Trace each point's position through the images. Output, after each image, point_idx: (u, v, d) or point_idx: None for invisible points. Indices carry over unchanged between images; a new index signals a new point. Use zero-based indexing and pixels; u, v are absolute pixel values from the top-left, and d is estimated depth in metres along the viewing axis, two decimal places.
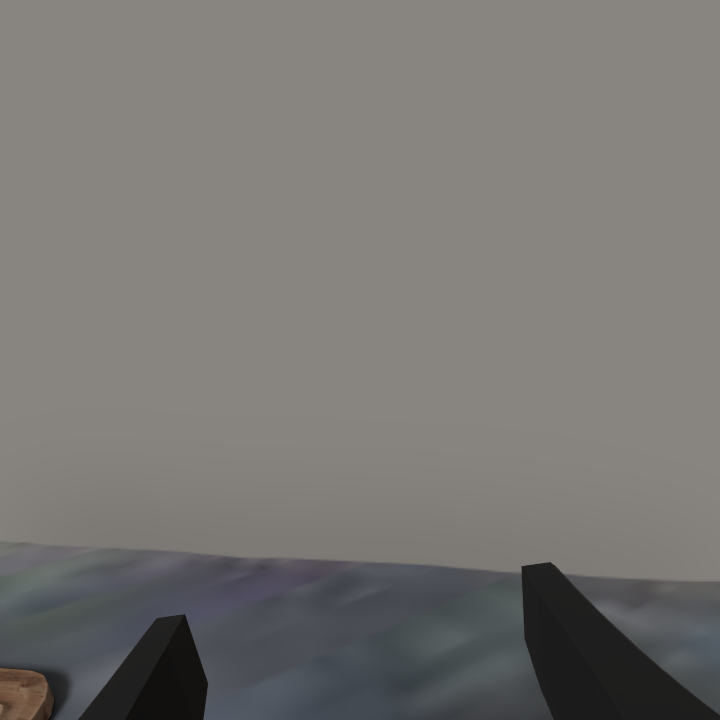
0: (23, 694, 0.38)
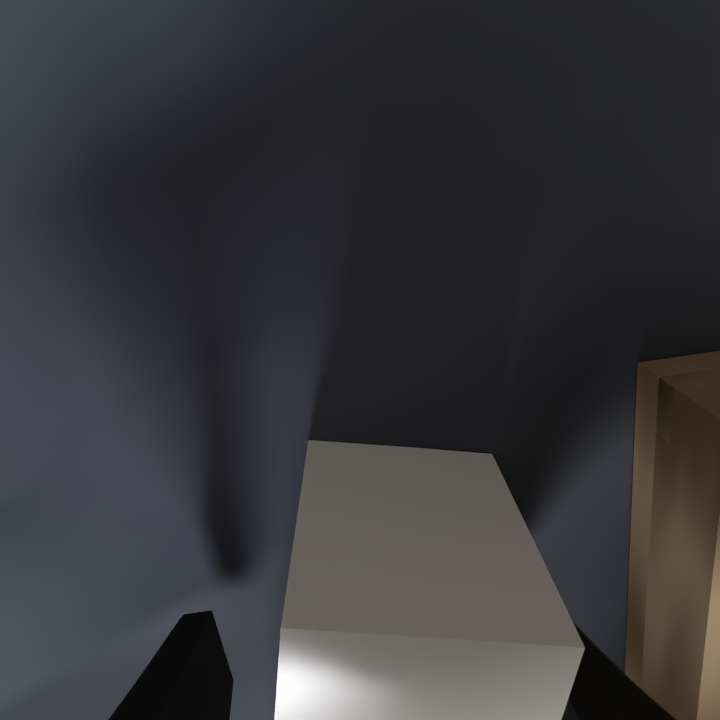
0: None
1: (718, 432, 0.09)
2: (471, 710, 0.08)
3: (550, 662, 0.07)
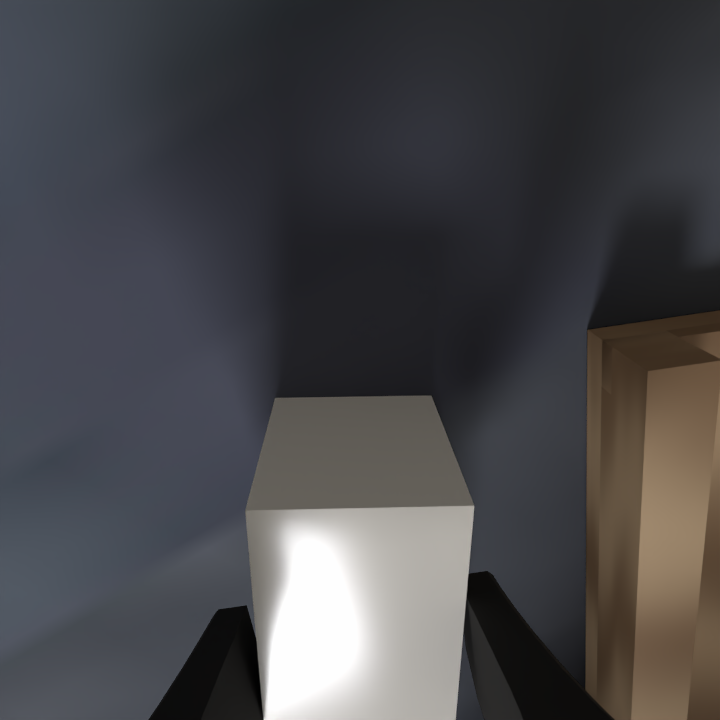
0: None
1: (641, 378, 0.11)
2: (398, 565, 0.10)
3: (451, 520, 0.10)
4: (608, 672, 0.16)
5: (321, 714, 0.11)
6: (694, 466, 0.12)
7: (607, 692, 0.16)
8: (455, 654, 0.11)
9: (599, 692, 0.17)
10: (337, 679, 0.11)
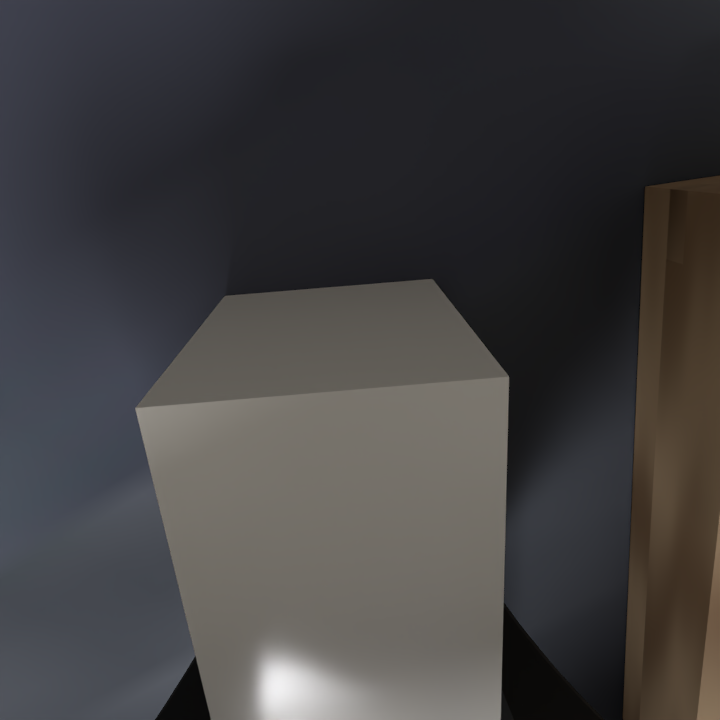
0: None
1: None
2: (393, 487, 0.06)
3: (473, 405, 0.06)
4: (662, 652, 0.12)
5: None
6: None
7: (659, 678, 0.12)
8: (495, 626, 0.07)
9: (646, 679, 0.13)
10: (318, 674, 0.07)
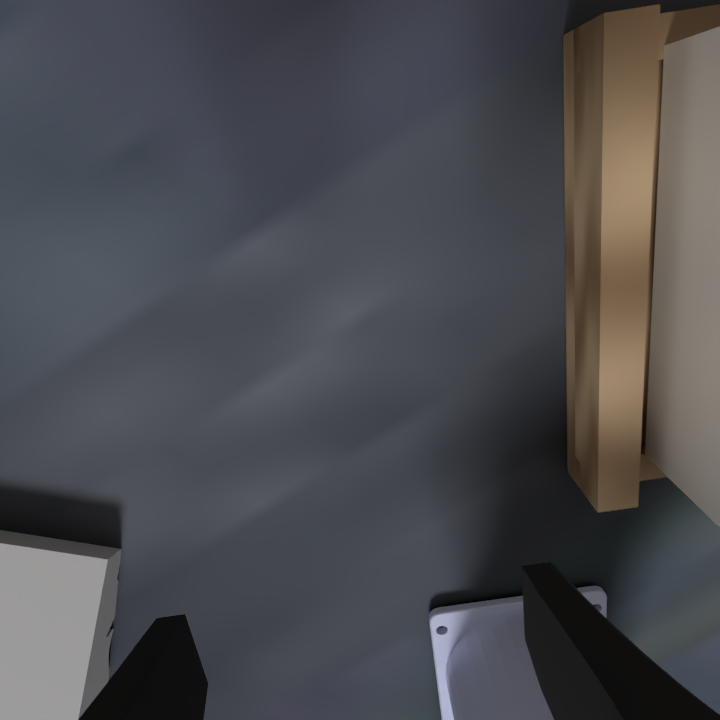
0: None
1: (600, 25, 0.15)
2: None
3: None
4: (583, 344, 0.19)
5: None
6: (642, 105, 0.15)
7: (582, 367, 0.19)
8: None
9: (577, 378, 0.20)
10: None
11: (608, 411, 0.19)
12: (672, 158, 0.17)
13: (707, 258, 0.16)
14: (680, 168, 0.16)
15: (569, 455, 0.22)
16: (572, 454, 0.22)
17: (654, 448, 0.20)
